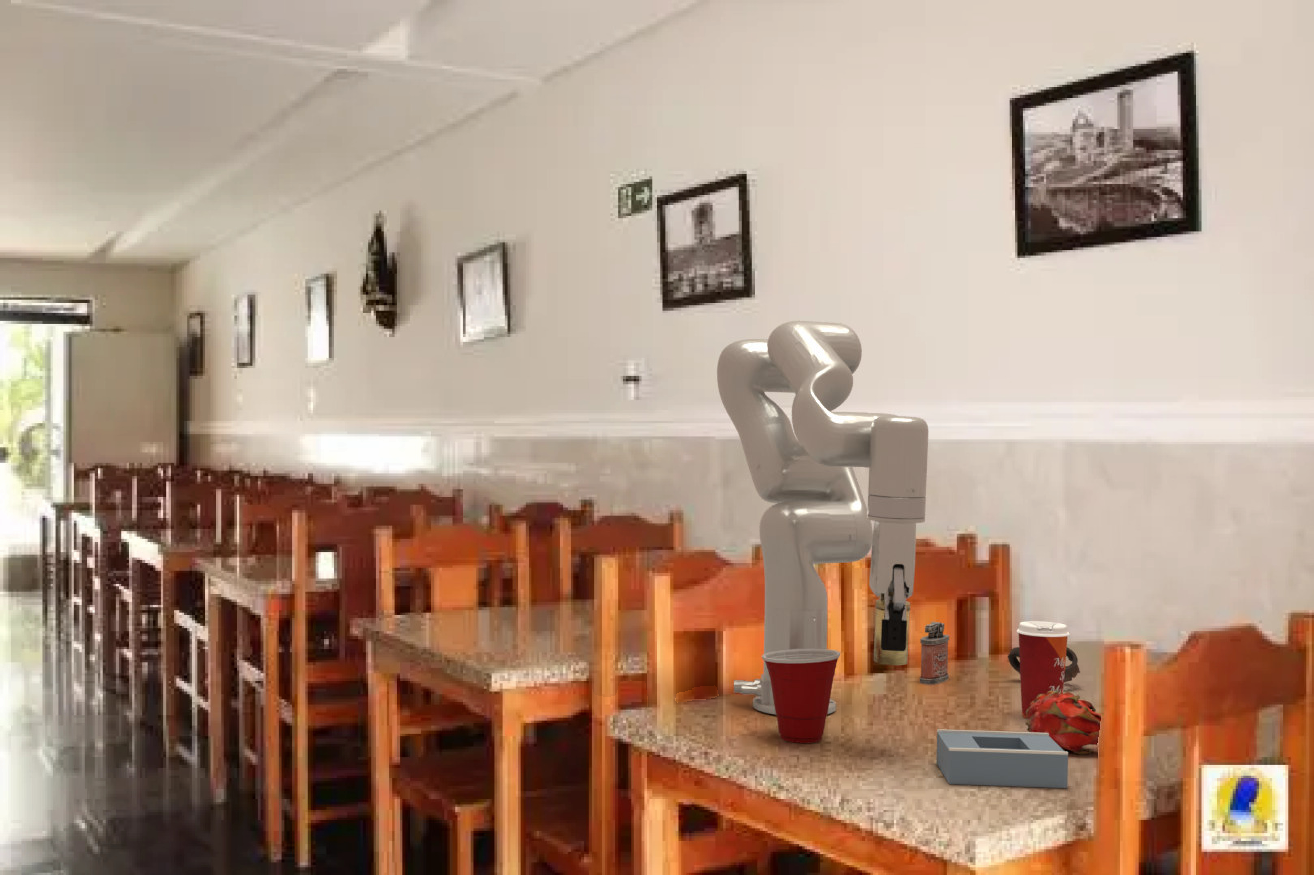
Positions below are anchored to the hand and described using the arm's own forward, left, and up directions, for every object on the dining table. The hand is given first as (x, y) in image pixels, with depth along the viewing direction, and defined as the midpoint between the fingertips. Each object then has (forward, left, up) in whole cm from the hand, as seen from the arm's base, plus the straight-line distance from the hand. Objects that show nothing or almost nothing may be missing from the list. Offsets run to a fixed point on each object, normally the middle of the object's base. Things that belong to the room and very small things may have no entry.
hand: (891, 644), depth 170 cm
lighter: (+13, +51, -14) cm, 55 cm away
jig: (+12, -11, -14) cm, 22 cm away
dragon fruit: (+24, +4, -14) cm, 29 cm away
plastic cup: (-12, +5, -14) cm, 19 cm away
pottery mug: (+32, +51, -14) cm, 61 cm away
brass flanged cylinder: (0, 0, -2) cm, 2 cm away
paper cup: (+25, +24, -14) cm, 38 cm away
